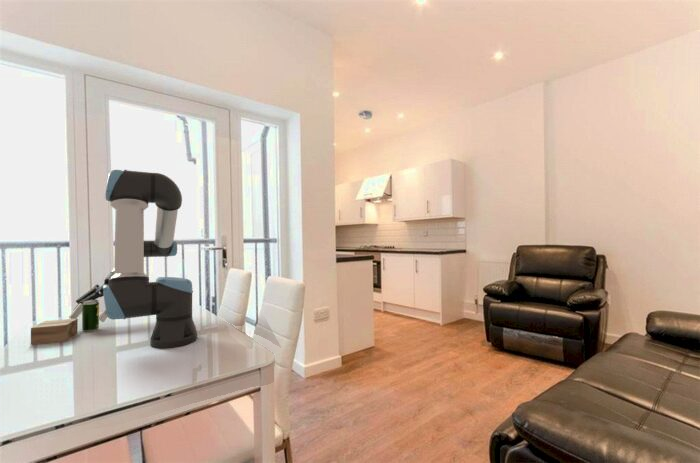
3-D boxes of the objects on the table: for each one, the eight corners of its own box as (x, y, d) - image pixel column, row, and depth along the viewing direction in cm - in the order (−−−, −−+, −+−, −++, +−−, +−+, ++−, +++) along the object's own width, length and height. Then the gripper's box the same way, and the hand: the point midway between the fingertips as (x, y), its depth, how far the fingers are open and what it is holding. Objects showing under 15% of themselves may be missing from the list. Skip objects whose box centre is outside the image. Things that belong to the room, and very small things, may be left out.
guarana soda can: (82, 333, 128) (82, 302, 128) (81, 330, 132) (81, 300, 132) (99, 330, 132) (99, 300, 132) (98, 327, 136) (98, 299, 136)
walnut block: (66, 341, 118) (66, 324, 118) (30, 344, 114) (30, 327, 114) (77, 333, 127) (77, 318, 127) (45, 336, 123) (45, 321, 123)
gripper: (147, 283, 146) (118, 325, 131) (99, 282, 150) (66, 323, 135) (138, 272, 141) (107, 315, 126) (88, 271, 144) (52, 313, 129)
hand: (86, 319), depth 130 cm, fingers open, 13 cm apart
